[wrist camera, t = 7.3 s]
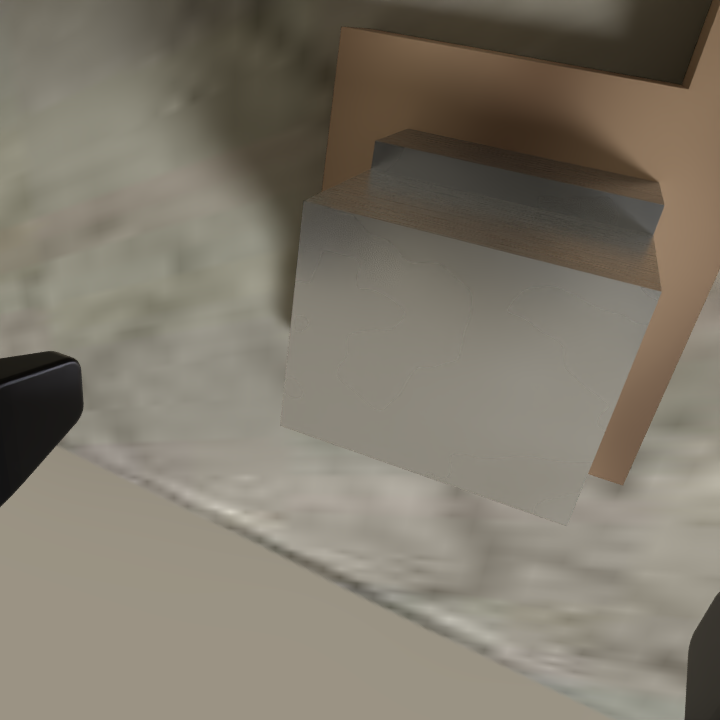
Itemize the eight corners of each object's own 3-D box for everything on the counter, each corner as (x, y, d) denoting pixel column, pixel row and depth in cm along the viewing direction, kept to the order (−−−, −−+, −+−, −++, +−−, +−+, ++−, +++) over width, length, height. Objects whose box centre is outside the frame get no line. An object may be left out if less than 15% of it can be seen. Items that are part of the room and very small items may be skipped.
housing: (659, 182, 14) (676, 254, 9) (577, 403, 17) (557, 548, 12) (408, 128, 16) (307, 166, 11) (371, 340, 19) (278, 448, 14)
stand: (772, 101, 15) (791, 108, 13) (622, 447, 20) (623, 485, 18) (369, 28, 17) (341, 26, 16) (324, 353, 22) (299, 378, 20)
